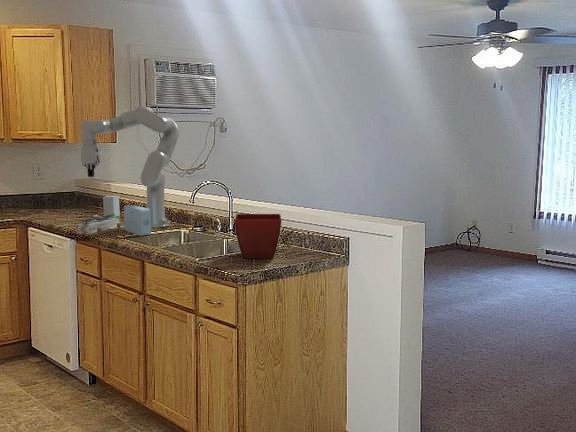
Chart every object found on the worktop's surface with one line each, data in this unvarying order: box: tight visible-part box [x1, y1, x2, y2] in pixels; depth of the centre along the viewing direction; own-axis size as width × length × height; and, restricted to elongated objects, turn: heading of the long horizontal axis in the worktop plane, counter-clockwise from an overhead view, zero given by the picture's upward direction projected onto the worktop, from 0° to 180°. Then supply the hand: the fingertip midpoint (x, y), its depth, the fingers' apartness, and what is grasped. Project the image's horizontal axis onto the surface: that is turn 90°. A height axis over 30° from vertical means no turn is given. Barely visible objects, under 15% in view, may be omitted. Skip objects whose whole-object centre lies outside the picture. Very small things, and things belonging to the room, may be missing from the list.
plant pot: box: [234, 213, 282, 259], centre depth 291 cm, size 19×19×17 cm
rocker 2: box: [91, 214, 106, 221], centre depth 364 cm, size 6×4×2 cm, turn 66°
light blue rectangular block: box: [123, 204, 152, 237], centre depth 356 cm, size 23×6×13 cm, turn 35°
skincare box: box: [102, 195, 121, 223], centre depth 390 cm, size 8×7×16 cm
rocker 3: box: [100, 214, 115, 219], centre depth 371 cm, size 6×4×2 cm, turn 66°
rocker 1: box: [80, 217, 96, 223], centre depth 357 cm, size 6×4×2 cm, turn 66°
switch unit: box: [74, 218, 125, 236], centre depth 364 cm, size 14×26×5 cm, turn 156°
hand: (91, 176), depth 380 cm, fingers closed
